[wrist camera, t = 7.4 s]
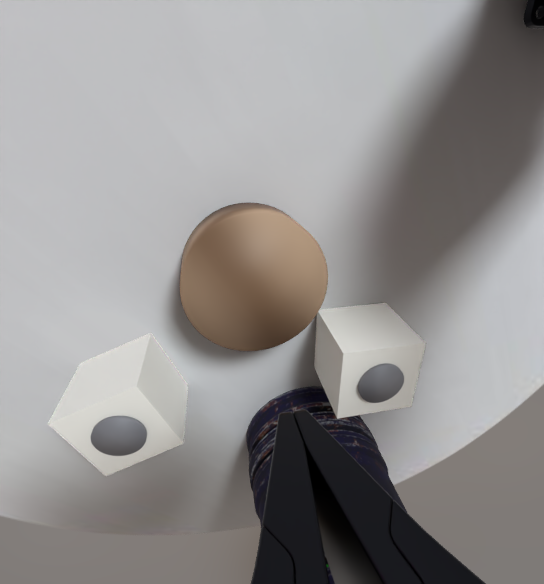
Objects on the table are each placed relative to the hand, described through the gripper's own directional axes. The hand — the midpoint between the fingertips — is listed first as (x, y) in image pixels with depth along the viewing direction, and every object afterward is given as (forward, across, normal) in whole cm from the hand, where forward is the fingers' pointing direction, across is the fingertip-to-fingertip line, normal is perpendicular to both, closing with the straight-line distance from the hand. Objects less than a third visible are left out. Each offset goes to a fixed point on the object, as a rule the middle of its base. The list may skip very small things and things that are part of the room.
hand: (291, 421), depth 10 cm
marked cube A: (+12, -7, +6) cm, 15 cm away
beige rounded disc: (+12, 0, 0) cm, 12 cm away
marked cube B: (+12, +8, +7) cm, 16 cm away
